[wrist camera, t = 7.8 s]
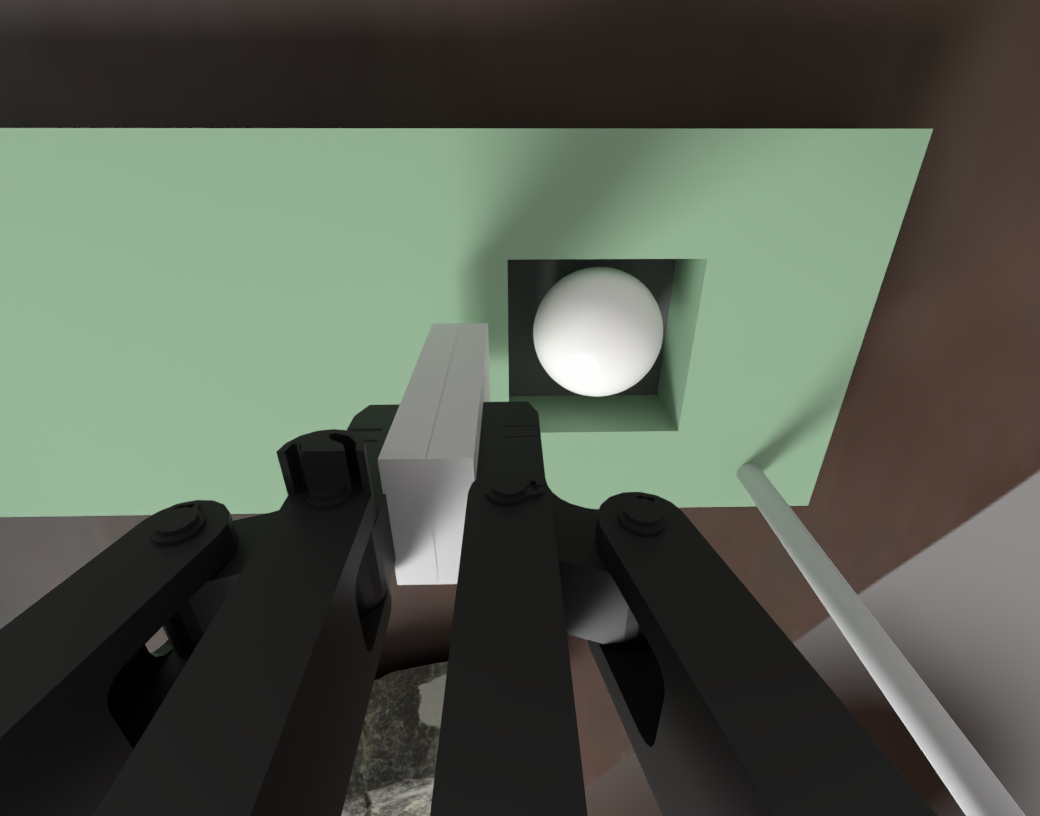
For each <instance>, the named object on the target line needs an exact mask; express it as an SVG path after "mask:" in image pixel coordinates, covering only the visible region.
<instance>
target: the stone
mask: <svg viewBox="0 0 1040 816" xmlns="http://www.w3.org/2000/svg"><path fill="white" fill-rule="evenodd" d="M447 667H448V661H446V662H440V663H434V664H430V665H426V666H419V667H414V668H410V669H405V670H400V671H395V672H393V673H390V674H387V675H385V676H384V677H382V678H380V679H377V680H374V683H373V687H372V691H371V695H370V700H369V704H368V708H367V712H366V716H365V720H364V724H363V728H362V732H361V737H360V741H359V745H358V749H357V753H356V757H355V761H354V765H353V769H352V774H351V778H350V782H349V786H348V790H347V794H346V798H345V802H344V806H343V811H342V815H341V816H430V811H431V803H432V794H433V786H434V777H435V769H436V760H437V752H438V743H439V735H440V726H441V718H442V709H443V701H444V692H445V684H446V675H447Z"/></svg>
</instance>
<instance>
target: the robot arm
mask: <svg viewBox="0 0 1040 816" xmlns="http://www.w3.org/2000/svg"><path fill="white" fill-rule="evenodd" d="M276 453H277V456H278V460H279V464H280V467H281V471H282V475H283V479H284V482H285V486H286V490H287V494H288V496H287V498H286V500H285V501H284V503H283V505H282V506H281V508H280V510H278V511H274V512H270V513H267V514H263V515H258V516H253V517H249V518H244V519H240V520H235V521H233V520H232V518H231V515H230V512H229V511H228V509H227V508H226V506H225V505H224V504H222V503H219V502H216V501H213V500H194V501H188V502H183V503H179V504H175V505H173V506H171V507H168V508H166V509H163V510H161V511H158V512H157V513H155V514H153V515H152V516H150V517H149V518H147V519H145V520H144V521H142V522H141V523H139V524H138V525H137V526H135V527H134V528H133V529H131V530H130V531H129V532H128V533H126V534H125V535H124V536H122V537H121V538H120V539H118V540H117V541H116V542H114V543H113V544H112V545H111V546H109V547H108V548H107V549H105V550H104V551H103V552H101V553H100V554H99V555H97V556H96V557H95V558H93V559H92V560H91V561H90V562H88V563H87V564H86V565H84V566H83V567H82V568H80V569H79V570H78V571H76V572H75V573H74V574H73V575H71V576H70V577H69V578H67V579H66V580H65V581H63V582H62V583H61V584H59V585H58V586H57V587H55V588H54V589H53V590H52V591H50V592H49V593H48V594H46V595H45V596H44V597H42V598H41V599H40V600H38V601H37V602H36V603H35V604H33V605H32V606H31V607H29V608H28V609H27V610H25V611H24V612H23V613H21V614H20V615H19V616H17V617H16V618H15V619H14V620H12V621H11V622H10V623H8V624H7V625H6V626H4V627H3V628H2V629H0V816H341V815H342V811H343V806H344V802H345V798H346V794H347V790H348V786H349V782H350V778H351V774H352V769H353V765H354V761H355V757H356V753H357V749H358V745H359V741H360V737H361V732H362V728H363V724H364V720H365V716H366V712H367V708H368V704H369V700H370V695H371V691H372V687H373V683H374V679H375V675H376V671H377V667H378V663H379V658H380V654H381V650H382V646H383V642H384V638H385V634H386V630H387V626H388V621H389V617H390V613H391V594H390V588H389V582H390V579H391V575H392V571H393V567H394V566H395V573H396V579H397V585H422V584H457V590H456V599H455V607H454V616H453V624H452V633H451V641H450V650H449V658H448V667H447V675H446V684H445V692H444V701H443V709H442V718H441V726H440V735H439V743H438V752H437V760H436V769H435V777H434V786H433V794H432V803H431V811H430V816H587V808H586V799H585V790H584V781H583V772H582V763H581V755H580V746H579V737H578V728H577V720H576V711H575V702H574V693H573V684H572V676H571V667H570V658H569V649H568V641H567V634H569V635H573V636H576V637H580V638H583V639H587V640H588V642H589V647H590V650H591V652H592V654H593V656H594V659H595V661H596V663H597V666H598V668H599V670H600V673H601V675H602V677H603V679H604V682H605V684H606V686H607V689H608V691H609V693H610V696H611V698H612V700H613V702H614V705H615V707H616V709H617V712H618V714H619V716H620V719H621V721H622V723H623V726H624V728H625V730H626V732H627V735H628V737H629V739H630V742H631V744H632V746H633V749H634V751H635V753H636V755H637V758H638V760H639V762H640V764H641V767H642V769H643V771H644V774H645V776H646V778H647V781H648V783H649V785H650V788H651V790H652V792H653V794H654V797H655V799H656V802H657V804H658V806H659V808H660V811H661V813H662V815H663V816H937V815H936V814H935V813H934V811H933V810H932V809H931V808H930V807H929V805H928V804H927V803H926V802H925V801H924V799H923V798H922V797H921V796H920V795H919V794H918V792H917V791H916V790H915V789H914V788H913V786H912V785H911V784H910V783H909V782H908V780H907V779H906V778H905V777H904V776H903V774H902V773H901V772H900V771H899V770H898V768H897V767H896V766H895V765H894V764H893V762H891V760H890V759H889V758H888V757H887V755H886V754H885V753H884V752H883V751H882V749H881V748H880V747H879V746H878V745H877V743H876V742H875V741H874V740H873V739H872V737H871V736H870V735H869V734H868V733H867V731H866V730H865V729H864V728H863V727H862V725H861V724H860V723H859V722H858V721H857V720H856V718H855V717H854V716H853V715H852V714H851V712H850V711H849V710H848V709H847V708H846V706H845V705H844V704H843V703H842V702H841V701H840V699H839V698H838V697H837V696H836V694H835V693H834V692H833V691H832V690H831V688H830V687H829V686H828V685H827V684H826V683H825V681H824V680H823V679H822V678H821V677H820V676H819V674H818V673H817V672H816V671H815V669H814V668H813V667H812V666H811V665H810V664H809V662H808V661H807V660H806V659H805V658H804V656H803V655H802V654H801V653H800V652H799V650H798V649H797V648H796V647H795V646H794V644H793V643H792V642H791V641H790V640H789V638H788V637H787V636H786V635H785V634H784V632H783V631H782V630H781V629H780V628H779V626H778V625H777V624H776V623H775V622H774V620H773V619H772V618H771V617H770V616H769V614H768V613H767V612H766V611H765V610H764V609H763V607H762V606H761V605H760V604H759V603H758V601H757V600H756V599H755V598H754V597H753V595H752V594H751V593H750V592H749V591H748V589H747V588H746V587H745V586H744V585H743V583H742V582H741V581H740V580H739V579H738V577H737V576H736V575H735V574H734V573H733V572H732V570H731V569H730V568H729V567H728V566H727V564H726V563H725V562H724V561H723V560H722V558H721V557H720V556H719V555H718V554H717V552H716V551H715V550H714V549H713V548H712V546H711V545H710V544H709V543H708V542H707V540H706V539H705V538H704V537H703V536H702V535H701V533H700V532H699V531H698V530H697V529H696V527H695V526H694V525H693V524H692V523H691V521H690V520H689V519H688V518H687V517H686V515H685V514H684V513H683V512H682V511H681V510H680V509H679V508H677V507H676V506H675V505H674V504H673V503H672V502H670V501H668V500H666V499H663V498H661V497H659V496H657V495H653V494H648V493H643V492H623V493H620V494H617V495H614V496H611V497H609V498H608V499H607V500H606V501H604V502H603V503H602V504H601V505H600V508H599V510H594V509H589V508H584V507H580V506H577V505H574V504H570V503H568V502H566V501H564V500H562V499H560V498H559V497H558V496H557V495H555V494H554V493H553V492H552V491H551V490H550V488H549V487H548V485H547V482H546V479H545V470H544V461H543V451H542V442H541V433H540V424H539V415H538V412H537V411H536V410H535V409H534V407H533V406H532V405H531V404H530V403H529V402H528V401H527V402H490V371H489V340H488V323H445V324H432V326H431V328H430V331H429V333H428V336H427V338H426V341H425V343H424V346H423V348H422V351H421V353H420V356H419V358H418V361H417V363H416V366H415V368H414V370H413V373H412V375H411V378H410V380H409V383H408V385H407V388H406V390H405V393H404V395H403V398H402V400H401V403H400V405H369V406H367V407H366V408H365V409H363V410H362V411H361V412H359V413H358V414H357V415H355V416H354V417H353V419H352V421H351V423H350V425H349V427H348V428H347V430H337V429H330V430H321V431H315V432H311V433H308V434H304V435H301V436H299V437H297V438H295V439H293V440H291V441H289V442H287V443H285V444H284V445H283V446H282V447H281V448H280V449H279V450H278V451H277V452H276ZM161 627H163V629H164V631H165V633H166V635H167V637H168V640H167V641H166V643H165V644H164V645H162V646H161V647H160V648H158V649H157V650H156V651H154V652H153V653H149V651H148V649H147V648H146V646H145V643H146V642H147V641H148V640H149V639H150V638H151V637H152V636H153V635H154V634H155V633H156V632H157V631H158V630H159V629H160V628H161Z"/></svg>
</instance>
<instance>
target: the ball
mask: <svg viewBox="0 0 1040 816" xmlns="http://www.w3.org/2000/svg"><path fill="white" fill-rule="evenodd" d="M533 338H534V346H535V350H536V353H537V356H538V359H539V361H540V363H541V364H542V366H543V368H544V369H545V371H546V372H547V373H548V375H549V376H550V377H551V378H552V379H553V380H554V381H556V382H557V383H558V384H559V385H561V386H562V387H564V388H566V389H567V390H569V391H572V392H574V393H577V394H580V395H585V396H593V397H602V396H609V395H613V394H617V393H620V392H622V391H625V390H627V389H628V388H630V387H632V386H633V385H635V384H636V383H638V382H639V381H640V380H641V379H642V378H643V377H644V376H645V375H646V374H647V373H648V372H649V371H650V369H651V368H652V366H653V365H654V363H655V361H656V359H657V357H658V355H659V352H660V349H661V345H662V340H663V320H662V316H661V312H660V309H659V306H658V304H657V302H656V300H655V298H654V296H653V295H652V293H651V292H650V291H649V289H648V288H647V287H646V286H645V285H644V284H643V283H642V282H640V281H639V280H638V279H637V278H635V277H634V276H632V275H630V274H628V273H626V272H624V271H622V270H618V269H615V268H610V267H590V268H584V269H581V270H578V271H575V272H573V273H571V274H568V275H567V276H565V277H564V278H562V279H561V280H559V281H558V282H557V283H556V284H555V285H553V286H552V288H551V289H550V290H549V291H548V292H547V294H546V295H545V297H544V298H543V300H542V301H541V303H540V305H539V307H538V310H537V313H536V316H535V320H534V327H533Z"/></svg>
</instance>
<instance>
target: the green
mask: <svg viewBox="0 0 1040 816" xmlns="http://www.w3.org/2000/svg"><path fill="white" fill-rule="evenodd" d="M932 131H933V129H647V128H0V517H44V516H114V515H153V514H155V513H157V512H158V511H161V510H163V509H166V508H168V507H171V506H173V505H175V504H179V503H183V502H188V501H194V500H213V501H216V502H219V503H222V504H224V505H225V506H226V508H227V509H228V511H229V512H230V514H253V513H270V512H274V511H278V510H280V508H281V506H282V505H283V503H284V501H285V500H286V498H287V496H288V494H287V490H286V486H285V482H284V479H283V475H282V471H281V467H280V464H279V460H278V456H277V453H276V452H277V451H278V450H279V449H280V448H281V447H282V446H283V445H284V444H285V443H287V442H289V441H291V440H293V439H295V438H297V437H299V436H301V435H304V434H308V433H311V432H315V431H321V430H330V429H337V430H347V428H348V427H349V425H350V423H351V421H352V419H353V417H354V416H355V415H357V414H358V413H359V412H361V411H362V410H363V409H365V408H366V407H367V406H369V405H400V403H401V400H402V398H403V395H404V393H405V390H406V388H407V385H408V383H409V380H410V378H411V375H412V373H413V370H414V368H415V366H416V363H417V361H418V358H419V356H420V353H421V351H422V348H423V346H424V343H425V341H426V338H427V336H428V333H429V331H430V328H431V326H432V324H445V323H488V340H489V371H490V402H527V401H528V402H529V403H530V404H531V405H532V406H533V407H534V409H535V410H536V411H537V412H538V415H539V424H540V433H541V442H542V451H543V461H544V470H545V479H546V482H547V485H548V487H549V488H550V490H551V491H552V492H553V493H554V494H555V495H557V496H558V497H559V498H560V499H562V500H564V501H566V502H568V503H570V504H574V505H577V506H580V507H584V508H589V509H599V508H600V505H601V504H602V503H603V502H604V501H606V500H607V499H608V498H609V497H611V496H614V495H617V494H620V493H623V492H643V493H648V494H653V495H657V496H659V497H661V498H663V499H666V500H668V501H670V502H672V503H673V504H674V505H675V506H676V507H740V506H757V507H758V509H759V510H760V512H761V513H762V515H763V516H764V518H765V519H766V521H767V522H768V523H769V525H770V526H771V528H772V529H773V531H774V532H775V534H776V535H777V537H778V538H779V540H780V541H781V543H782V544H783V546H784V547H785V549H786V550H787V552H788V553H789V555H790V556H791V558H792V559H793V560H794V562H795V563H796V565H797V566H798V568H799V569H800V571H801V572H802V574H803V575H804V577H805V578H806V580H807V581H808V583H809V584H810V586H811V587H812V589H813V590H814V592H815V593H816V595H817V596H818V597H819V599H820V600H821V602H822V603H823V605H824V606H825V608H826V609H827V611H828V612H829V614H830V615H831V617H832V618H833V620H834V621H835V622H836V624H837V626H838V627H839V628H840V630H841V631H842V633H843V634H844V636H845V637H846V639H847V640H848V642H849V643H850V645H851V646H852V648H853V649H854V651H855V652H856V654H857V655H858V657H859V658H860V660H861V661H862V663H863V664H864V665H865V667H866V668H867V670H868V671H869V673H870V674H871V676H872V677H873V679H874V680H875V682H876V683H877V685H878V686H879V688H880V689H881V691H882V692H883V694H884V695H885V697H886V698H887V700H888V701H889V703H890V704H891V705H892V707H893V708H894V710H895V711H896V713H897V714H898V716H899V717H900V719H901V720H902V722H903V723H904V725H905V726H906V727H907V729H908V731H909V732H910V734H911V735H912V737H913V738H914V739H915V741H916V742H917V744H918V745H919V747H920V748H921V750H922V751H923V753H924V754H925V756H926V757H927V759H928V760H929V762H930V763H931V765H932V766H933V768H934V769H935V770H936V772H937V773H938V775H939V776H940V778H941V779H942V781H943V782H944V784H945V785H946V787H947V788H948V790H949V791H950V793H951V794H952V796H953V797H954V799H955V800H956V801H957V803H958V805H959V806H960V807H961V809H962V811H963V812H964V813H965V815H966V816H1025V814H1024V813H1023V812H1022V810H1021V809H1020V808H1019V806H1018V805H1017V804H1016V802H1015V801H1014V800H1013V799H1012V797H1011V796H1010V795H1009V793H1008V792H1007V791H1006V789H1005V788H1004V787H1003V786H1002V784H1001V783H1000V782H999V780H998V779H997V778H996V776H995V775H994V774H993V772H992V771H991V770H990V768H989V767H988V766H987V764H985V762H984V761H983V759H982V758H981V757H980V755H979V754H978V753H977V751H976V750H975V749H974V748H973V746H972V745H971V744H970V743H969V741H968V740H967V738H966V737H965V736H964V734H963V733H962V732H961V731H960V729H959V728H958V727H957V725H956V724H955V723H954V721H953V720H952V719H951V717H950V716H949V715H948V714H947V712H946V711H945V710H944V708H943V707H942V706H941V704H940V703H939V702H938V700H937V699H936V698H935V696H934V695H933V694H932V692H931V691H930V690H929V689H928V687H927V686H926V685H925V683H924V682H923V681H922V680H921V678H920V677H919V675H918V674H917V673H916V672H915V670H914V669H913V668H912V666H911V665H910V664H909V662H908V661H907V660H906V658H905V657H904V656H903V655H902V653H901V652H900V651H899V649H898V648H897V647H896V645H895V644H894V643H893V641H892V640H891V639H890V637H889V636H888V635H887V634H886V632H885V631H884V630H883V628H882V627H881V626H880V624H879V623H878V622H877V621H876V619H875V618H874V617H873V615H872V614H871V613H870V611H869V610H868V609H867V607H866V606H865V605H864V603H863V602H862V601H861V600H860V598H859V597H858V596H857V594H856V593H855V592H854V590H853V589H852V588H851V586H850V585H849V584H848V582H847V581H846V580H845V579H844V577H843V576H842V575H841V573H840V572H839V571H838V569H837V568H836V567H835V565H834V564H833V563H832V562H831V560H830V559H829V558H828V556H827V555H826V554H825V552H824V551H823V550H822V548H821V547H820V546H819V544H818V543H817V542H816V541H815V539H814V538H813V537H812V535H811V534H810V533H809V531H808V530H807V529H806V527H805V526H804V525H803V524H802V522H801V521H800V520H799V518H798V517H797V516H796V514H795V513H794V512H793V510H792V509H791V508H790V507H789V506H808V504H809V501H810V498H811V495H812V492H813V489H814V486H815V483H816V480H817V477H818V474H819V471H820V468H821V465H822V462H823V459H824V456H825V453H826V450H827V447H828V444H829V441H830V438H831V435H832V432H833V429H834V426H835V423H836V420H837V417H838V414H839V411H840V408H841V405H842V402H843V399H844V396H845V393H846V390H847V387H848V384H849V381H850V378H851V375H852V371H853V368H854V365H855V362H856V359H857V356H858V353H859V350H860V347H861V344H862V341H863V338H864V335H865V332H866V329H867V326H868V323H869V320H870V317H871V314H872V311H873V308H874V305H875V302H876V299H877V296H878V293H879V290H880V287H881V284H882V281H883V278H884V275H885V272H886V269H887V266H888V263H889V260H890V257H891V254H892V251H893V248H894V245H895V242H896V239H897V236H898V233H899V230H900V227H901V224H902V221H903V218H904V215H905V212H906V209H907V206H908V203H909V200H910V197H911V194H912V191H913V188H914V185H915V182H916V179H917V176H918V173H919V170H920V167H921V164H922V161H923V158H924V155H925V152H926V149H927V146H928V143H929V140H930V137H931V134H932ZM590 267H610V268H615V269H618V270H622V271H624V272H626V273H628V274H630V275H632V276H634V277H635V278H637V279H638V280H639V281H640V282H642V283H643V284H644V285H645V286H646V287H647V288H648V289H649V291H650V292H651V293H652V295H653V296H654V298H655V300H656V302H657V304H658V306H659V309H660V312H661V316H662V320H663V340H662V345H661V349H660V352H659V355H658V357H657V359H656V361H655V363H654V365H653V366H652V368H651V369H650V371H649V372H648V373H647V374H646V375H645V376H644V377H643V378H642V379H641V380H640V381H639V382H638V383H636V384H635V385H633V386H632V387H630V388H628V389H627V390H625V391H622V392H620V393H617V394H613V395H609V396H602V397H593V396H585V395H580V394H577V393H574V392H572V391H569V390H567V389H566V388H564V387H562V386H561V385H559V384H558V383H557V382H556V381H554V380H553V379H552V378H551V377H550V376H549V375H548V373H547V372H546V371H545V369H544V368H543V366H542V364H541V363H540V361H539V359H538V356H537V353H536V350H535V346H534V338H533V327H534V320H535V316H536V313H537V310H538V307H539V305H540V303H541V301H542V300H543V298H544V297H545V295H546V294H547V292H548V291H549V290H550V289H551V288H552V286H553V285H555V284H556V283H557V282H558V281H559V280H561V279H562V278H564V277H565V276H567V275H568V274H571V273H573V272H575V271H578V270H581V269H584V268H590Z"/></svg>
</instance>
